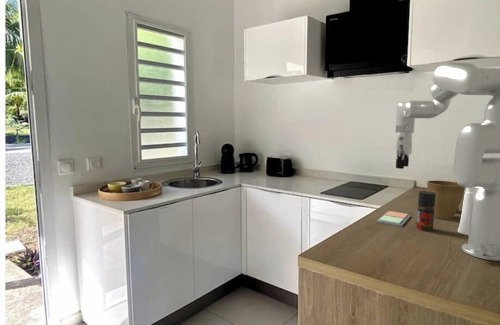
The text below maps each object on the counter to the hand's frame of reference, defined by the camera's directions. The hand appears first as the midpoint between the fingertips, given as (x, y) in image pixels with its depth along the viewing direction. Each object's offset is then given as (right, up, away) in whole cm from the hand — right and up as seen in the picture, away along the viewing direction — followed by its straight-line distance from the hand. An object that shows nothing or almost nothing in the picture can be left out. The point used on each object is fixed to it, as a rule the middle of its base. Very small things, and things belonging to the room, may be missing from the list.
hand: (402, 167), depth 149 cm
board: (-6, -23, -5) cm, 25 cm away
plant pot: (+18, -23, -1) cm, 29 cm away
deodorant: (+1, -25, -18) cm, 31 cm away
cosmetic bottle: (+15, -26, -22) cm, 37 cm away
